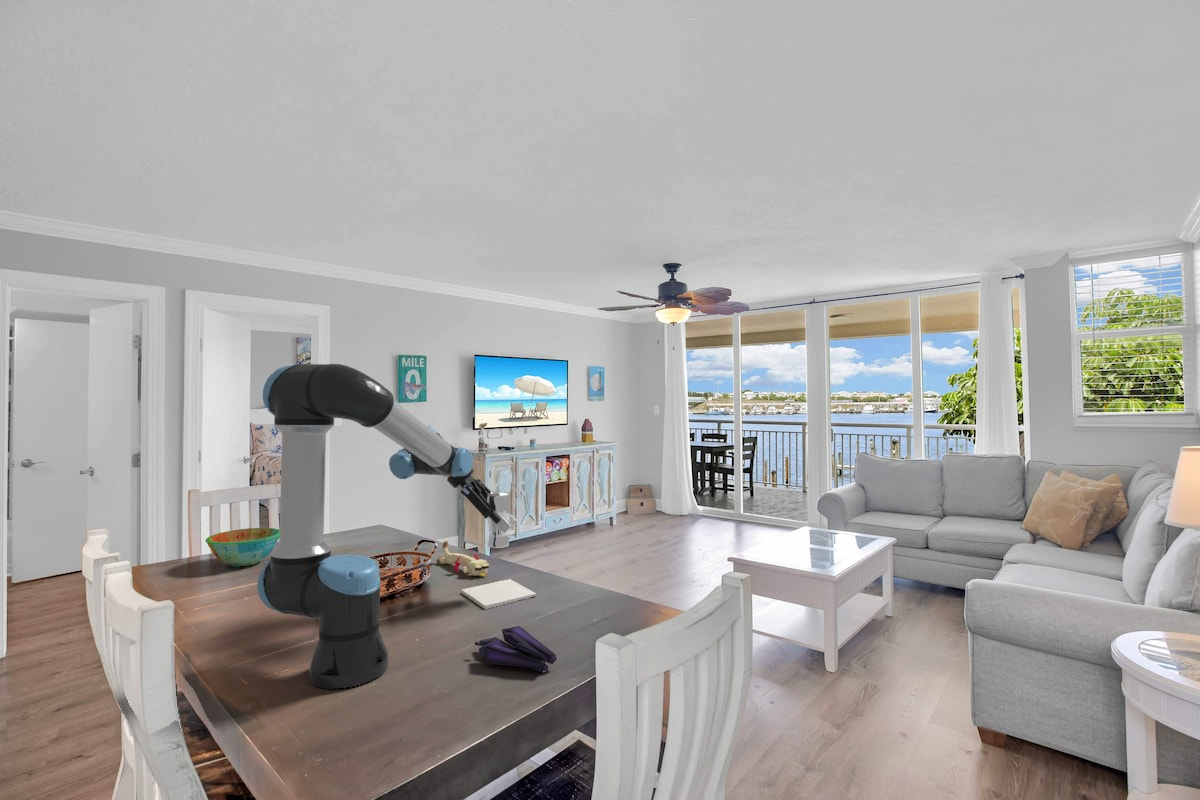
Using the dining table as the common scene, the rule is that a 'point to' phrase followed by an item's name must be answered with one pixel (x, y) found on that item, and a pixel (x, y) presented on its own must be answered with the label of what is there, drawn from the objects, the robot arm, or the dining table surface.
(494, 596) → the mat
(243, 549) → the bowl
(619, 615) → the dining table surface
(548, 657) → the crystal
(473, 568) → the cream toy animal
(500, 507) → the silver tall cylinder
